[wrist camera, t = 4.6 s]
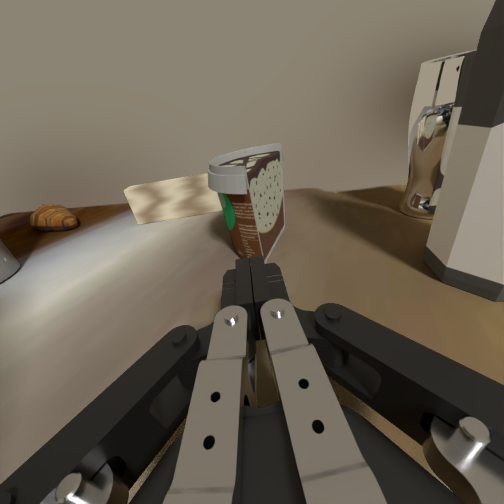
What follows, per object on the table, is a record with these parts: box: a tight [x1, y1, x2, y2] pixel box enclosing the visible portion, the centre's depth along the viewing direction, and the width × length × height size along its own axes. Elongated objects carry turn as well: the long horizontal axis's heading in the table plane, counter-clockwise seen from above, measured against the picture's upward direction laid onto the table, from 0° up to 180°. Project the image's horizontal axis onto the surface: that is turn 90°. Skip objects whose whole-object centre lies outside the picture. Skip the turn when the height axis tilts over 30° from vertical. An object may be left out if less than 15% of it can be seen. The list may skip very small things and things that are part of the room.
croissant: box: [30, 204, 78, 232], centre depth 45 cm, size 14×7×5 cm, turn 66°
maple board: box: [124, 173, 223, 225], centre depth 39 cm, size 22×2×6 cm, turn 93°
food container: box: [208, 143, 286, 264], centre depth 26 cm, size 12×6×10 cm, turn 160°
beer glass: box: [399, 50, 477, 219], centre depth 25 cm, size 7×7×15 cm
